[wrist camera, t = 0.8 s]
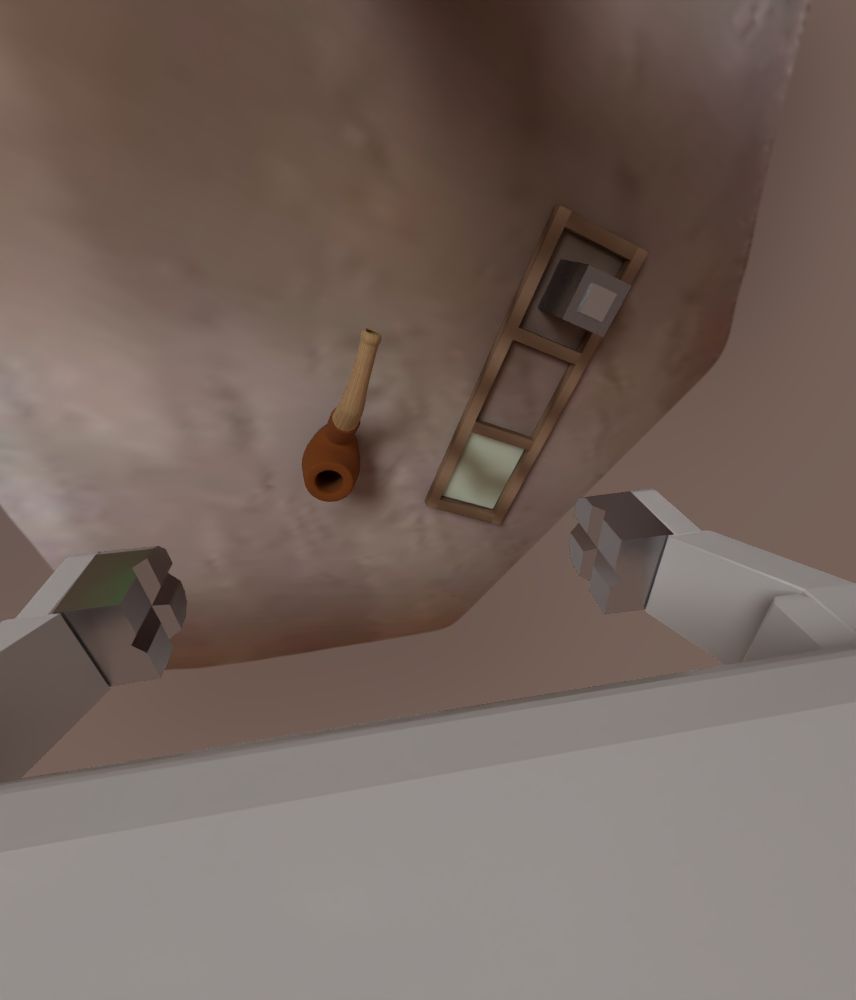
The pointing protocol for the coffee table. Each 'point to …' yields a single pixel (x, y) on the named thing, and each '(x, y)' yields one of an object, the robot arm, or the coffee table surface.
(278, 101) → the coffee table surface
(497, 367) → the divided wooden frame
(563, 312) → the gray rectangular block
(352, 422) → the smoking pipe
